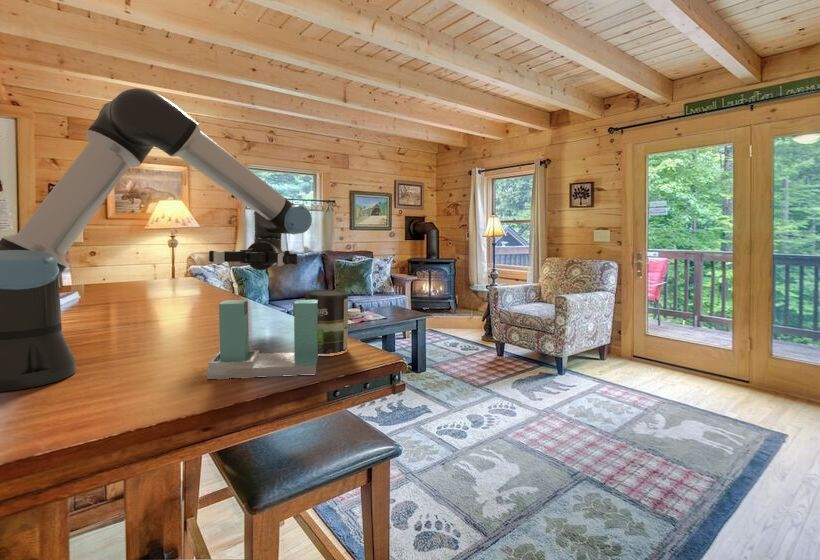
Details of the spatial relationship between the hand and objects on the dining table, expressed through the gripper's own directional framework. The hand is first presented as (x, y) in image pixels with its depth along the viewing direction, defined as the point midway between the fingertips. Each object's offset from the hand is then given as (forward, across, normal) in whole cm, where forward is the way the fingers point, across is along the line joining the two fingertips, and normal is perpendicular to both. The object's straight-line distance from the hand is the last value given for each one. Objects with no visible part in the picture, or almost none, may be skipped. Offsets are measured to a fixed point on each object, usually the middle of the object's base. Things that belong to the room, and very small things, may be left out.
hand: (247, 259), depth 97 cm
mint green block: (+12, 0, -20) cm, 23 cm away
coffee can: (-1, -18, -22) cm, 28 cm away
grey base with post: (+12, -6, -22) cm, 25 cm away
